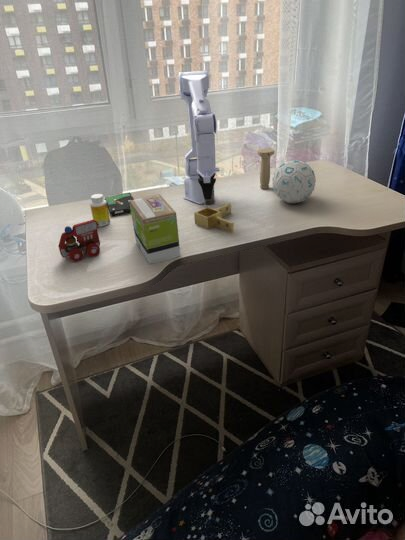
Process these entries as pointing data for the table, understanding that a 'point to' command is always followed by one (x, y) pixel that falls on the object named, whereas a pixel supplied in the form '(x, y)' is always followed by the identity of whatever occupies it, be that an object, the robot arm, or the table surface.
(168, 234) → the tea box
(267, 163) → the handle
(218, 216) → the gold square socket frame
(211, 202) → the pin
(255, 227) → the table surface
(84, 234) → the toy fire truck
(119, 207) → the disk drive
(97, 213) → the supplement bottle
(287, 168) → the puzzle ball
